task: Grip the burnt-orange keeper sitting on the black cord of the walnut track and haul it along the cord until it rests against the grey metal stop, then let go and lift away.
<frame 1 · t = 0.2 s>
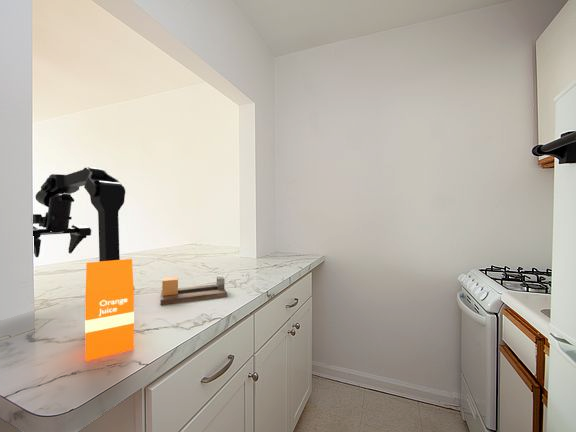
hand: (53, 255, 91), 15 cm above the countertop, tool pointing down, fingers open, 9 cm apart
keeper: (170, 285, 93), point 4 cm above the countertop, slide at 0.0 cm
track: (193, 295, 97), on the countertop
orange juice: (110, 348, 60), on the countertop
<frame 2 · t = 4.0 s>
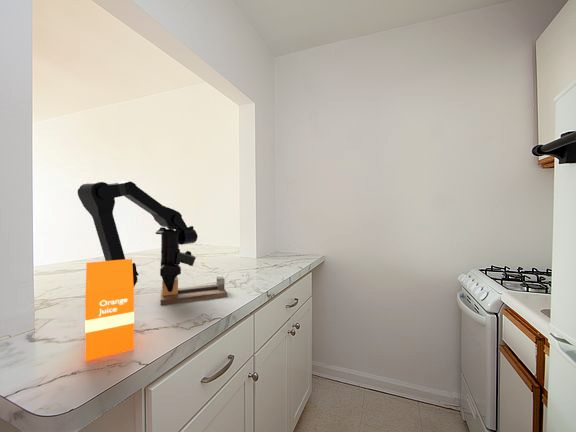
hand: (170, 289, 93), 3 cm above the countertop, tool pointing down, fingers closed on keeper, 4 cm apart
keeper: (170, 285, 93), point 4 cm above the countertop, slide at 0.0 cm, touching gripper
everything else where it was.
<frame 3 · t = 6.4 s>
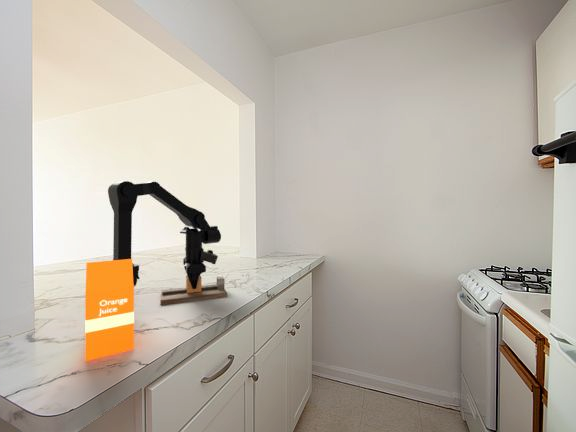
hand: (193, 287, 97), 3 cm above the countertop, tool pointing down, fingers closed on keeper, 4 cm apart
keeper: (193, 283, 97), point 4 cm above the countertop, slide at 8.0 cm, touching gripper
everything else where it was.
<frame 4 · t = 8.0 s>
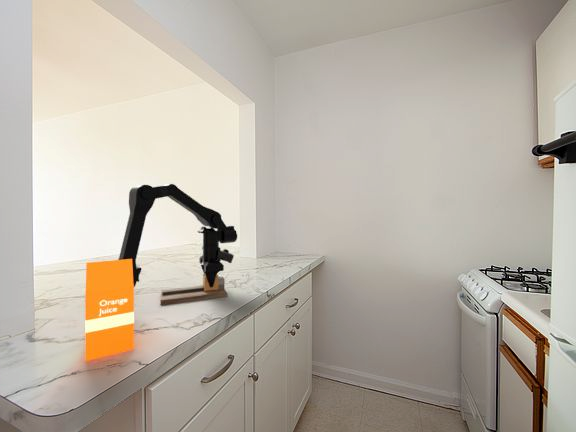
hand: (210, 285, 99), 3 cm above the countertop, tool pointing down, fingers closed on keeper, 4 cm apart
keeper: (210, 281, 99), point 4 cm above the countertop, slide at 14.1 cm, touching gripper
everything else where it was.
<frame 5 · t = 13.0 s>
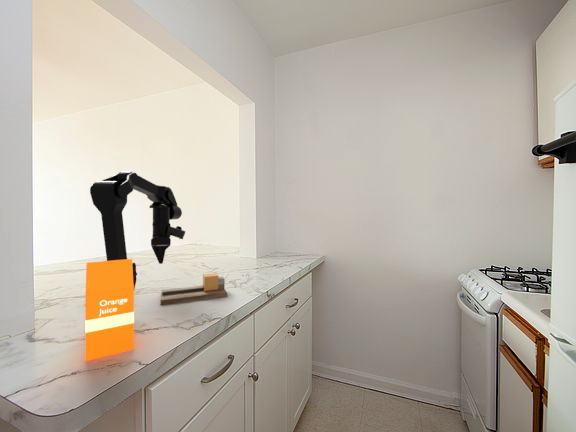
hand: (161, 261, 99), 12 cm above the countertop, tool pointing down, fingers open, 9 cm apart
keeper: (210, 281, 99), point 4 cm above the countertop, slide at 14.0 cm
everything else where it was.
at the end: keeper slide at 14.0 cm; the gripper is holding nothing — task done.
